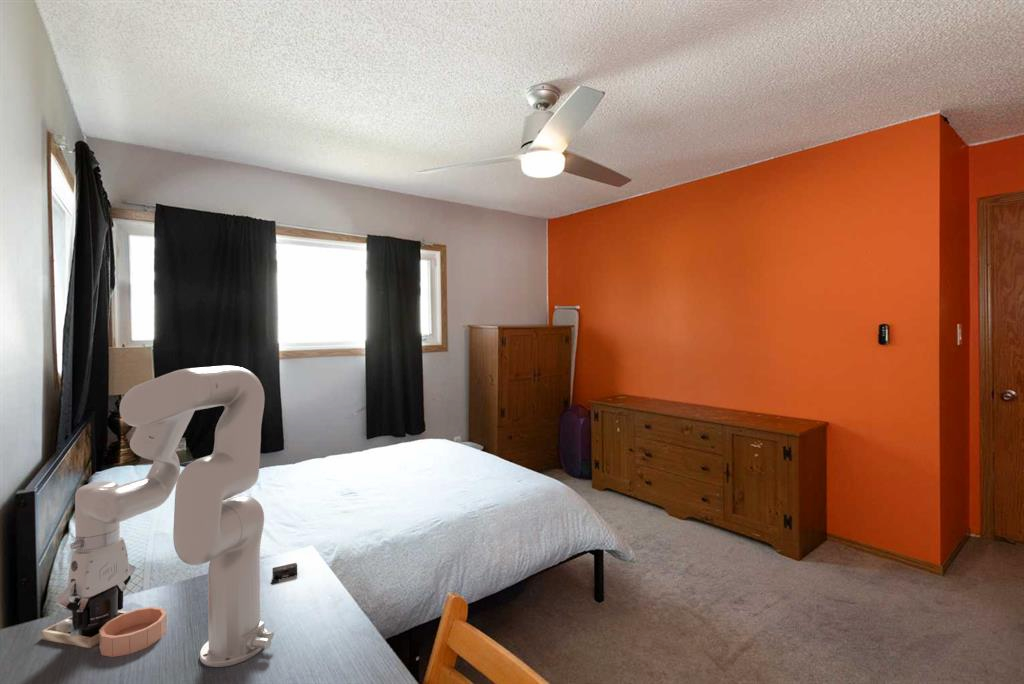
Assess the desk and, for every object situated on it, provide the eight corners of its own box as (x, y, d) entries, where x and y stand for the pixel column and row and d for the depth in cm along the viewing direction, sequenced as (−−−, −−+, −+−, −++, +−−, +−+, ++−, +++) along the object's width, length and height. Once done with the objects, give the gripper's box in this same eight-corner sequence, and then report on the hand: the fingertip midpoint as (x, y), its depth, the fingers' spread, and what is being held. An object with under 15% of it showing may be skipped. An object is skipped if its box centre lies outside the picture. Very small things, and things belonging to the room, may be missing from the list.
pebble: (77, 630, 108) (77, 617, 108) (62, 638, 105) (61, 624, 105) (67, 628, 109) (67, 615, 109) (51, 636, 106) (51, 623, 106)
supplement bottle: (95, 642, 104) (94, 586, 104) (69, 638, 105) (69, 584, 105) (126, 623, 110) (125, 571, 110) (102, 620, 112) (101, 569, 112)
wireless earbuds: (269, 580, 131) (269, 568, 131) (296, 573, 134) (296, 562, 134) (270, 587, 127) (270, 575, 127) (298, 580, 130) (298, 569, 130)
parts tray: (137, 621, 111) (137, 613, 111) (90, 648, 102) (90, 639, 102) (90, 614, 115) (90, 606, 115) (41, 640, 105) (41, 631, 105)
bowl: (178, 628, 109) (177, 610, 109) (128, 660, 98) (128, 640, 98) (139, 621, 111) (138, 604, 111) (86, 652, 100) (86, 633, 100)
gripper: (66, 557, 98) (67, 644, 98) (148, 525, 115) (149, 599, 115) (39, 554, 100) (40, 639, 100) (124, 523, 117) (125, 596, 117)
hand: (98, 617), depth 108 cm, fingers closed on supplement bottle, 6 cm apart
